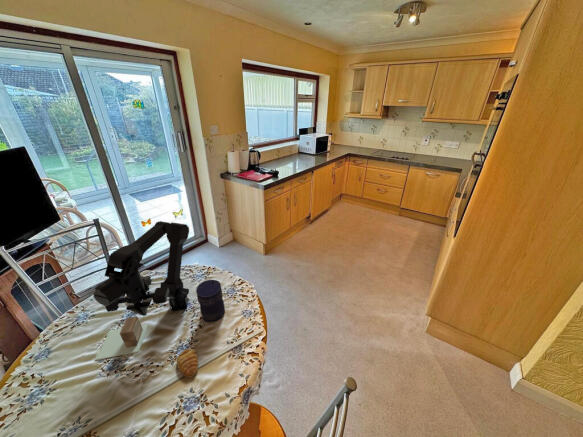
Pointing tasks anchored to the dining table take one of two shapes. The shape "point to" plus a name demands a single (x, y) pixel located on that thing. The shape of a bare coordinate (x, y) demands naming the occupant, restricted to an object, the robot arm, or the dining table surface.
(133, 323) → the wooden block
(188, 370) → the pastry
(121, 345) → the mat
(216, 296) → the storage jar
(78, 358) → the dining table surface
